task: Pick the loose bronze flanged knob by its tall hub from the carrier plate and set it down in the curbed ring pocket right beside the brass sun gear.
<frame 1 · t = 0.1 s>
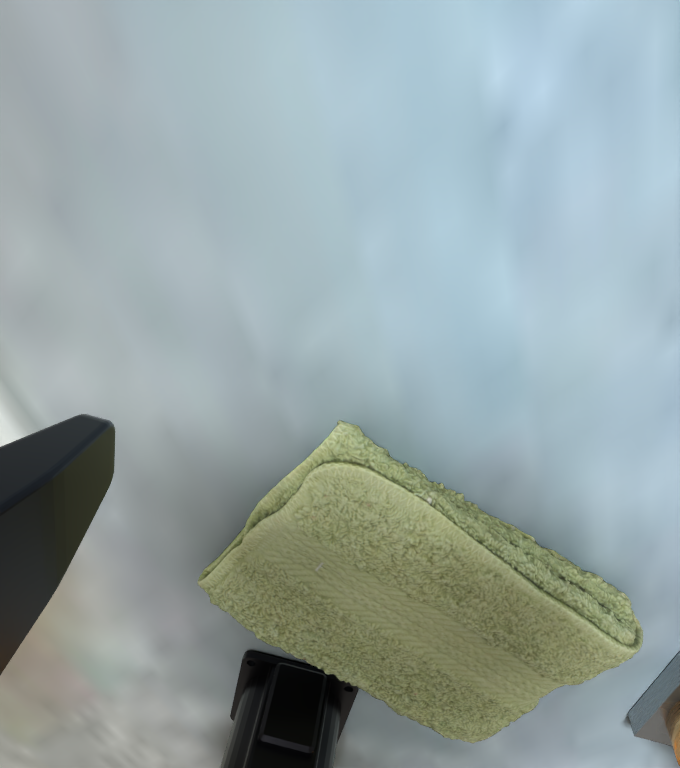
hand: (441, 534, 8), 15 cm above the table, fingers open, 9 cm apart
washcloth: (413, 576, 30), on the table
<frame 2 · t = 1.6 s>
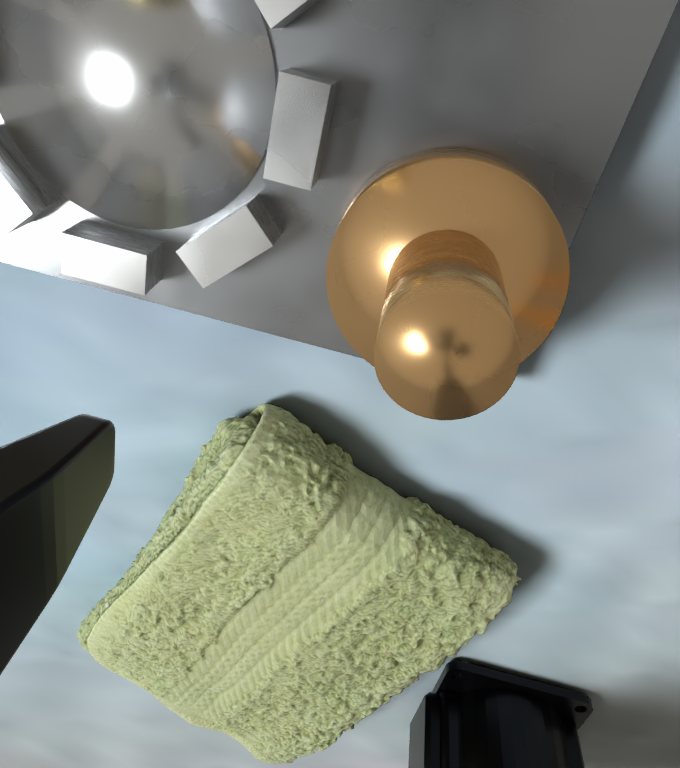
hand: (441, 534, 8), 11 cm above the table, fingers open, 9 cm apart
carrier plate: (267, 19, 15), on the table
washcloth: (284, 584, 27), on the table
bronze flanged knob: (443, 263, 17), point 1 cm above the table, touching carrier plate
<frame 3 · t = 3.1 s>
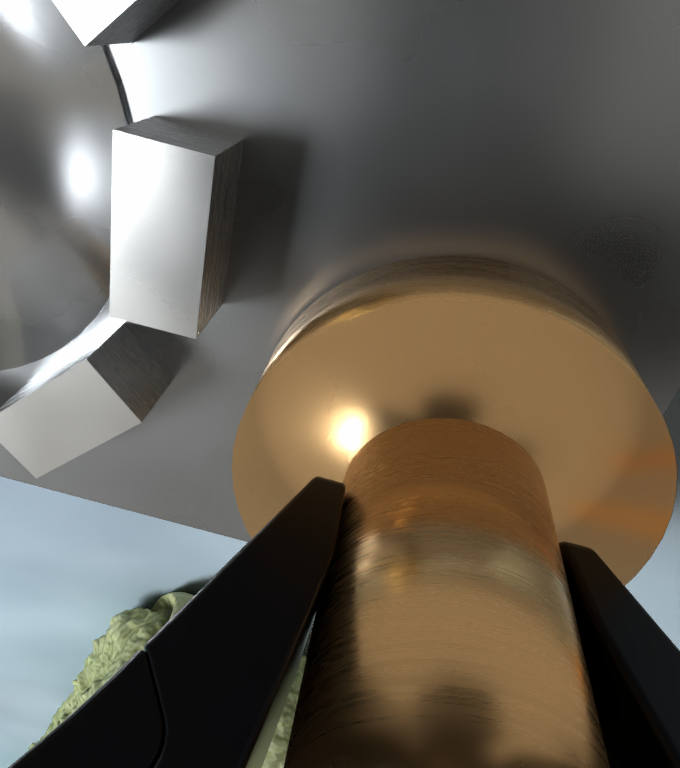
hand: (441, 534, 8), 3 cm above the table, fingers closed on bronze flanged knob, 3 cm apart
carrier plate: (122, 26, 9), on the table
bronze flanged knob: (441, 435, 10), point 1 cm above the table, touching carrier plate, gripper
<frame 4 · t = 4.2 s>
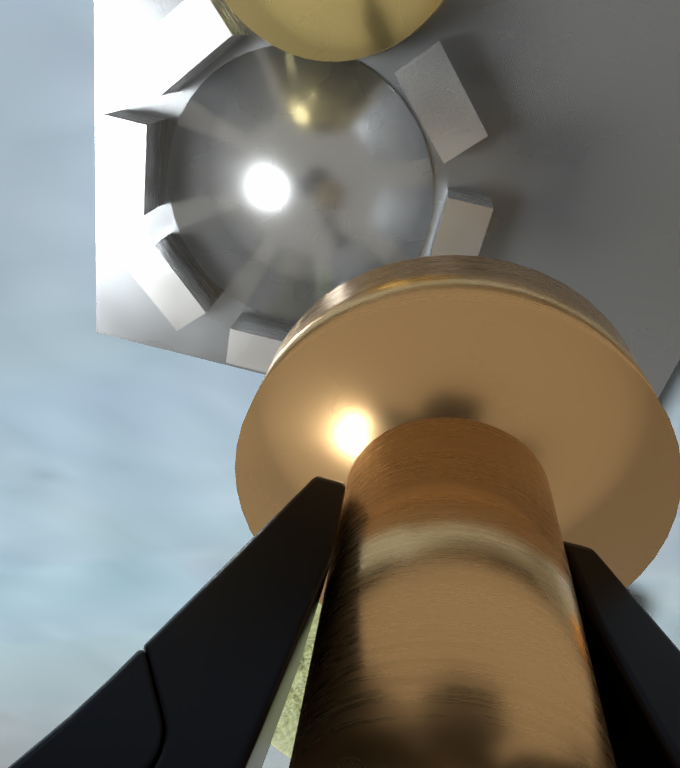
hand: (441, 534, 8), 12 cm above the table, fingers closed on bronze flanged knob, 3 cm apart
carrier plate: (420, 141, 17), on the table
washcloth: (386, 627, 28), on the table
bronze flanged knob: (444, 435, 10), point 10 cm above the table, touching gripper
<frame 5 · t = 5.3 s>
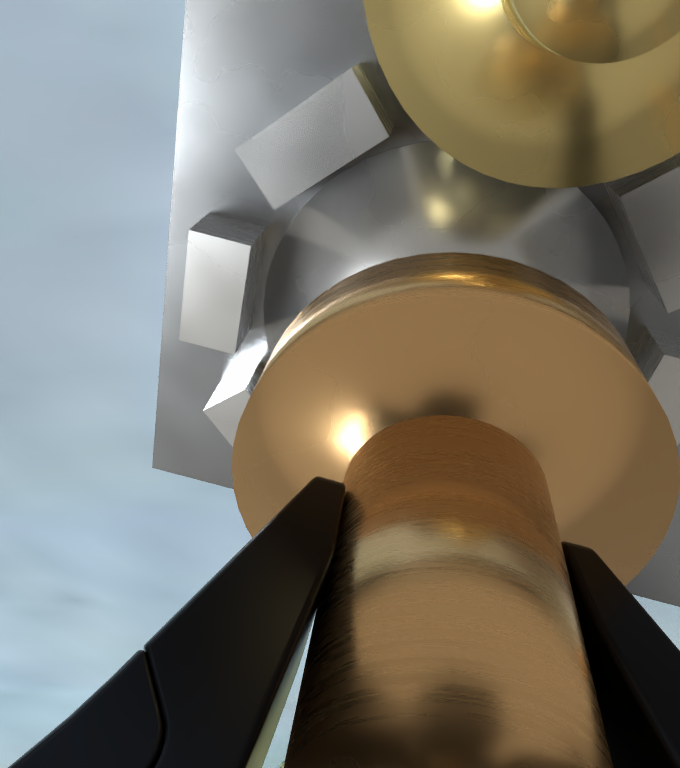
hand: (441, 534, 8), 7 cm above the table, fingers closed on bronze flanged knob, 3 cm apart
carrier plate: (602, 258, 13), on the table
bronze flanged knob: (442, 433, 10), point 5 cm above the table, touching gripper
when the fingers open (5 cm above the table, at t = 5.9 s): bronze flanged knob drops 2 cm, resting on carrier plate.
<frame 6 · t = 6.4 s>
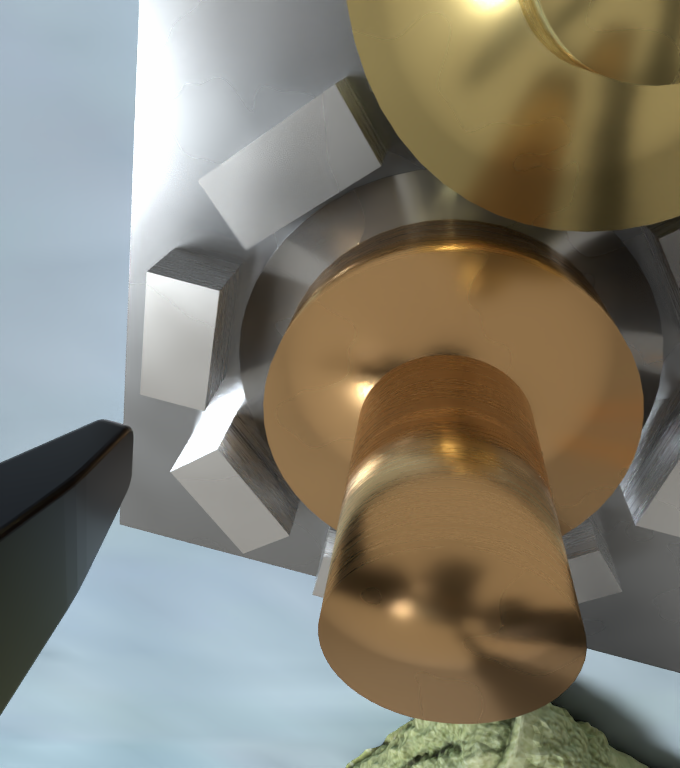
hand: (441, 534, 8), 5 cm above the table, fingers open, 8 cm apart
carrier plate: (628, 299, 11), on the table
bronze flanged knob: (443, 381, 11), point 1 cm above the table, touching carrier plate
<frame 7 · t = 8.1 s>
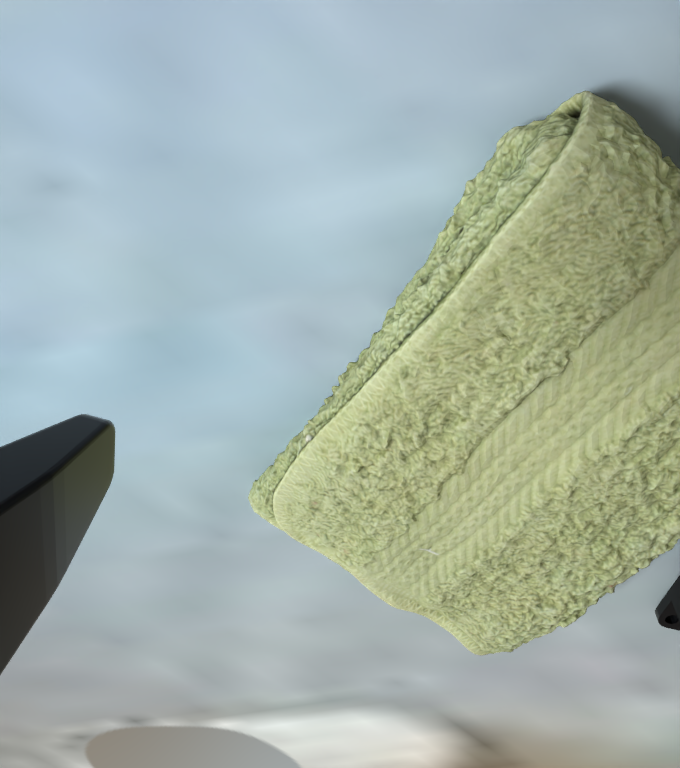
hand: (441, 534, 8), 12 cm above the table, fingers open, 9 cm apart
washcloth: (519, 413, 21), on the table
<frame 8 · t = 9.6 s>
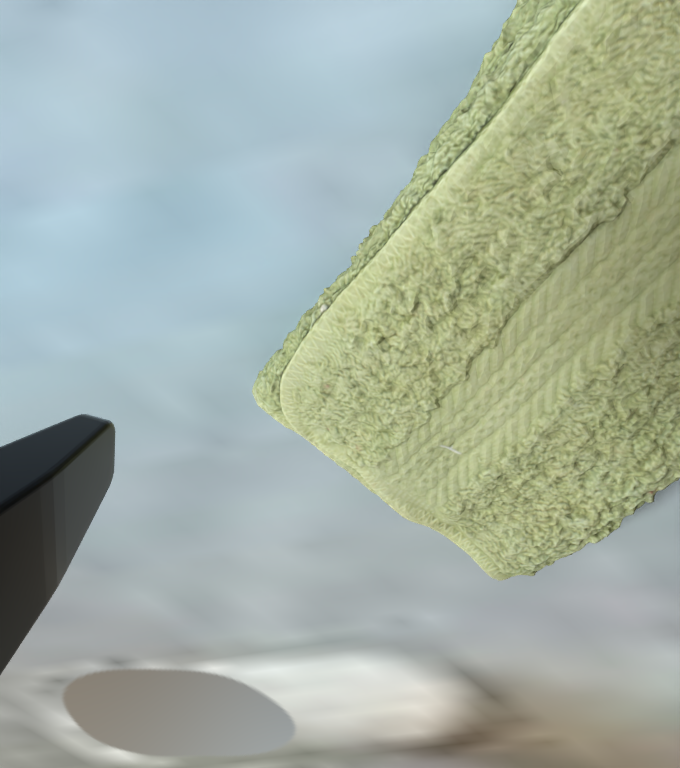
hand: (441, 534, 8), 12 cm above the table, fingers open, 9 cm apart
washcloth: (556, 299, 19), on the table
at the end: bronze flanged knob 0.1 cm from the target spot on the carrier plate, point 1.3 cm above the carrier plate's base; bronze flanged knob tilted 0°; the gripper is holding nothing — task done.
